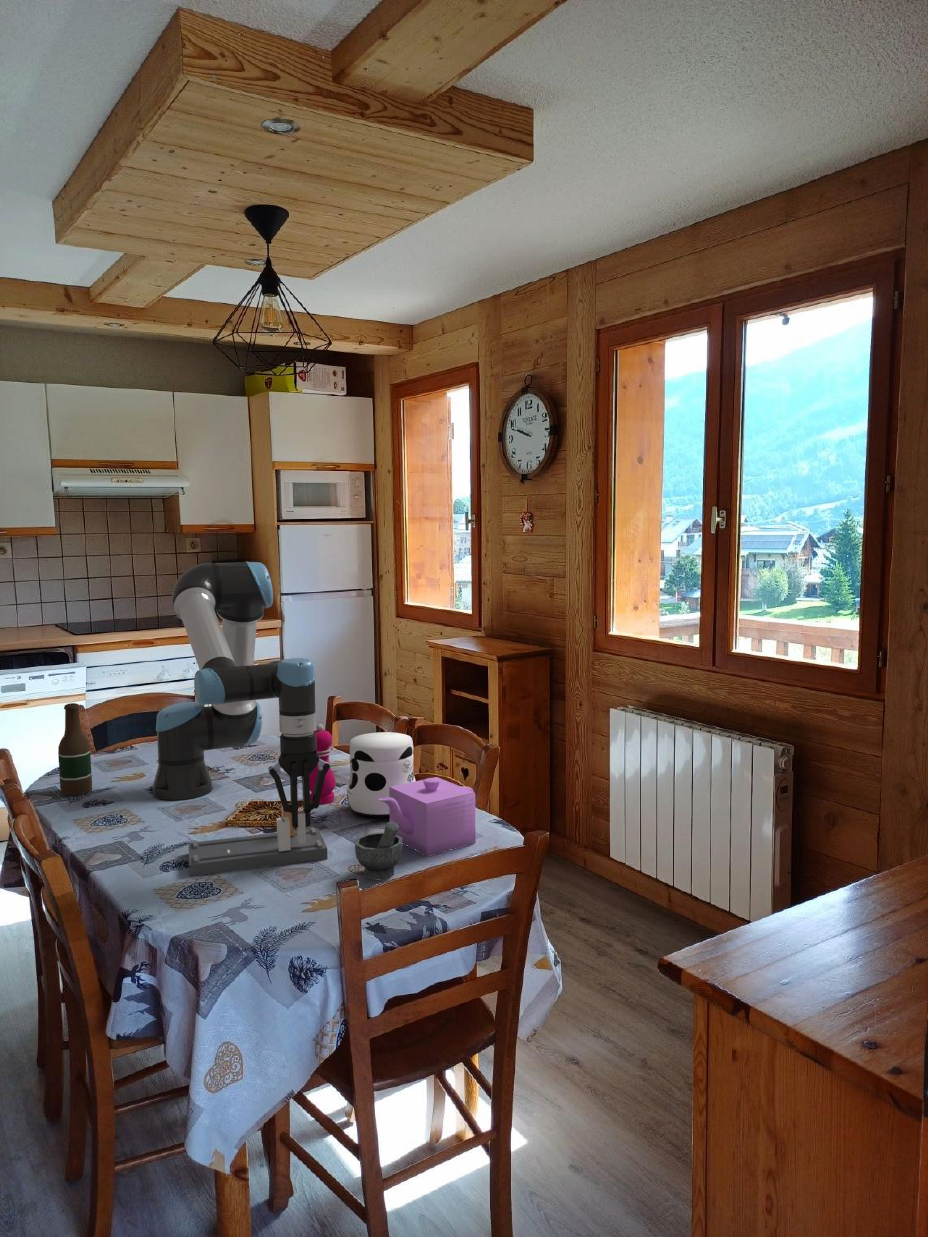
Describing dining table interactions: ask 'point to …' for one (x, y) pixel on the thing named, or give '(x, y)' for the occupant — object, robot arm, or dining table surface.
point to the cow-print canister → (378, 770)
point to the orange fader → (288, 814)
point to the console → (252, 852)
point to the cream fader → (283, 834)
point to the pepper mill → (329, 782)
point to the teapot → (433, 815)
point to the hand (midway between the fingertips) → (301, 841)
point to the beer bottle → (74, 756)
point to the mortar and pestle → (379, 852)
